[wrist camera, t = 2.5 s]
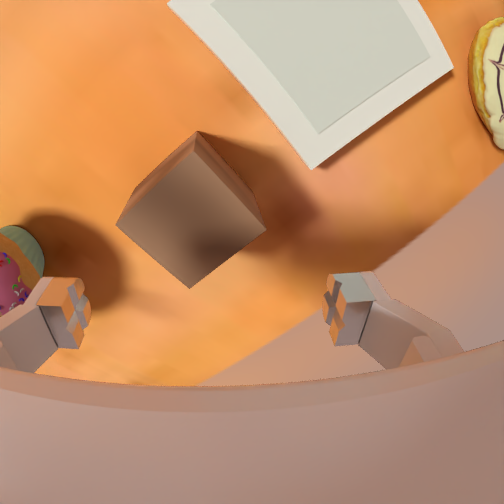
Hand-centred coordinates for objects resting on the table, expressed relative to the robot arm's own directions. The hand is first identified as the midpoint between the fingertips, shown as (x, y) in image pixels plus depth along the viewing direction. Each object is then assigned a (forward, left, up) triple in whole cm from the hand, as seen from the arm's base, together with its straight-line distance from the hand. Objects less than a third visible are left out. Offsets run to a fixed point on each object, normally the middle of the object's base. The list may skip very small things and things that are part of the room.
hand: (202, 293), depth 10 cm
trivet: (+11, +3, -10) cm, 16 cm away
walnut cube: (-1, 0, -10) cm, 10 cm away
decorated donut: (+23, -7, -10) cm, 27 cm away
